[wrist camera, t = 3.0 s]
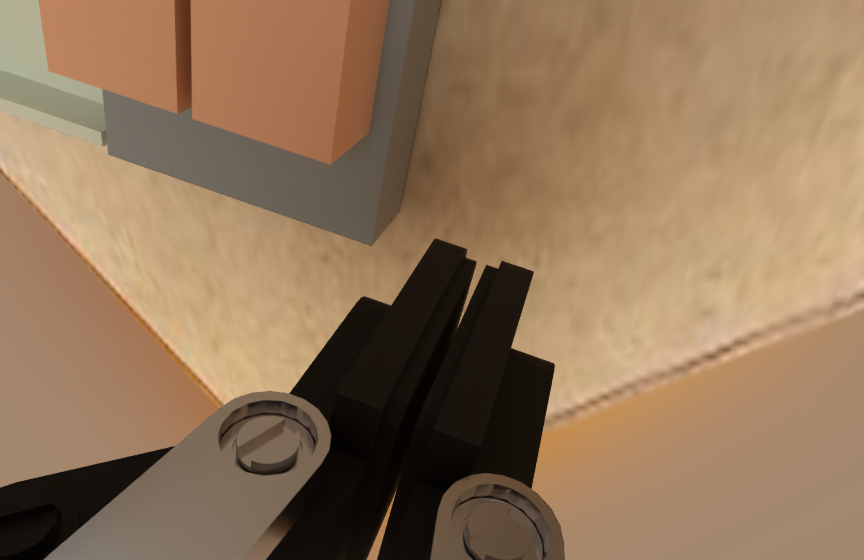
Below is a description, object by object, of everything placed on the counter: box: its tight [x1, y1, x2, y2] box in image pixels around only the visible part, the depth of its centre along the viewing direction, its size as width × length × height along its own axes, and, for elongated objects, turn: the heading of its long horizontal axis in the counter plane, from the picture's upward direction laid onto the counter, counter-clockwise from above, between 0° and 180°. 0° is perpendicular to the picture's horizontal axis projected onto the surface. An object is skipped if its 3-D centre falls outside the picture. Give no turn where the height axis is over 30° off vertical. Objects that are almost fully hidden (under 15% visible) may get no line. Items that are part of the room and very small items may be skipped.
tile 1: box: [39, 0, 192, 114], centre depth 19 cm, size 4×4×3 cm
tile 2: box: [191, 0, 390, 165], centre depth 18 cm, size 4×4×3 cm
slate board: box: [102, 0, 441, 246], centre depth 21 cm, size 11×13×3 cm
